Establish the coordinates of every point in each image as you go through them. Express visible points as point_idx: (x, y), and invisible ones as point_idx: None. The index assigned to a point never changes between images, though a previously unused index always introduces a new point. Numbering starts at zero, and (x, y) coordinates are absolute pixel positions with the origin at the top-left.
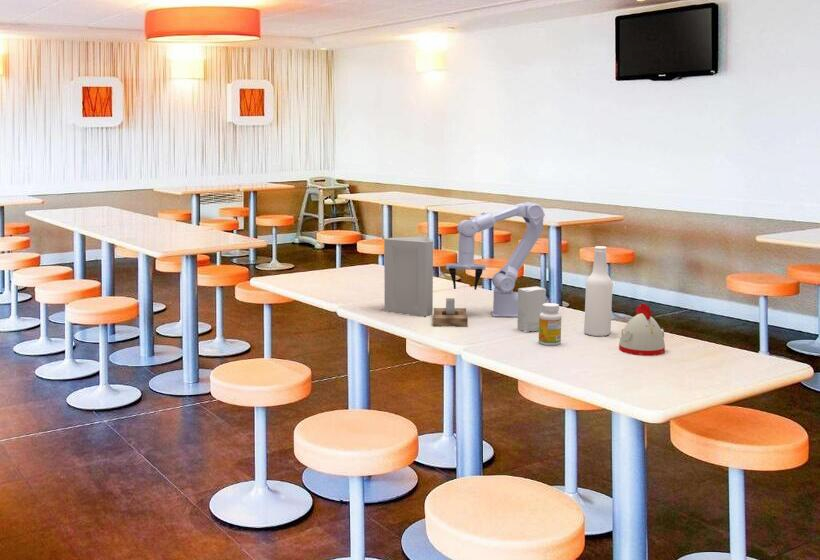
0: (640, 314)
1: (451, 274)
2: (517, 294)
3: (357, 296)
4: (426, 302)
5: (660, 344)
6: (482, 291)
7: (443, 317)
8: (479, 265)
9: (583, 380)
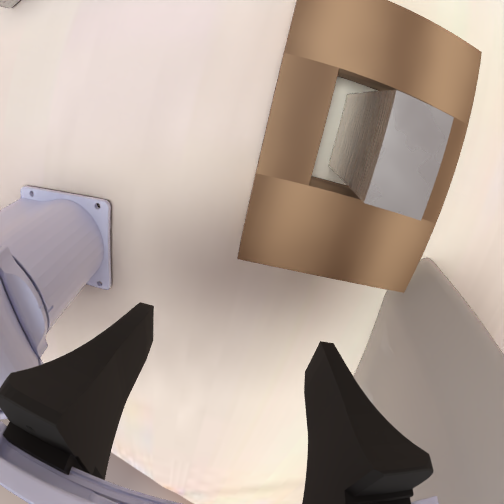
0: None
1: (405, 443)
2: None
3: None
4: (457, 296)
5: None
6: (147, 471)
7: (437, 41)
8: (5, 485)
9: None
